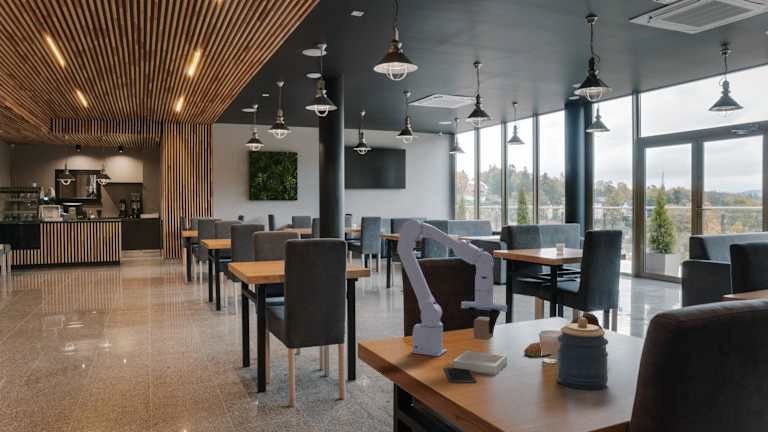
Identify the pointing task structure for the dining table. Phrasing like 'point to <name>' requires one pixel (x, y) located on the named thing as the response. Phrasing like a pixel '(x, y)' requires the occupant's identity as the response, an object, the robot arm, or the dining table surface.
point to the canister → (582, 356)
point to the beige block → (482, 328)
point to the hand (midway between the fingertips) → (483, 332)
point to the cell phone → (459, 375)
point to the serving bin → (480, 362)
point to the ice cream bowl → (589, 319)
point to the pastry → (533, 350)
